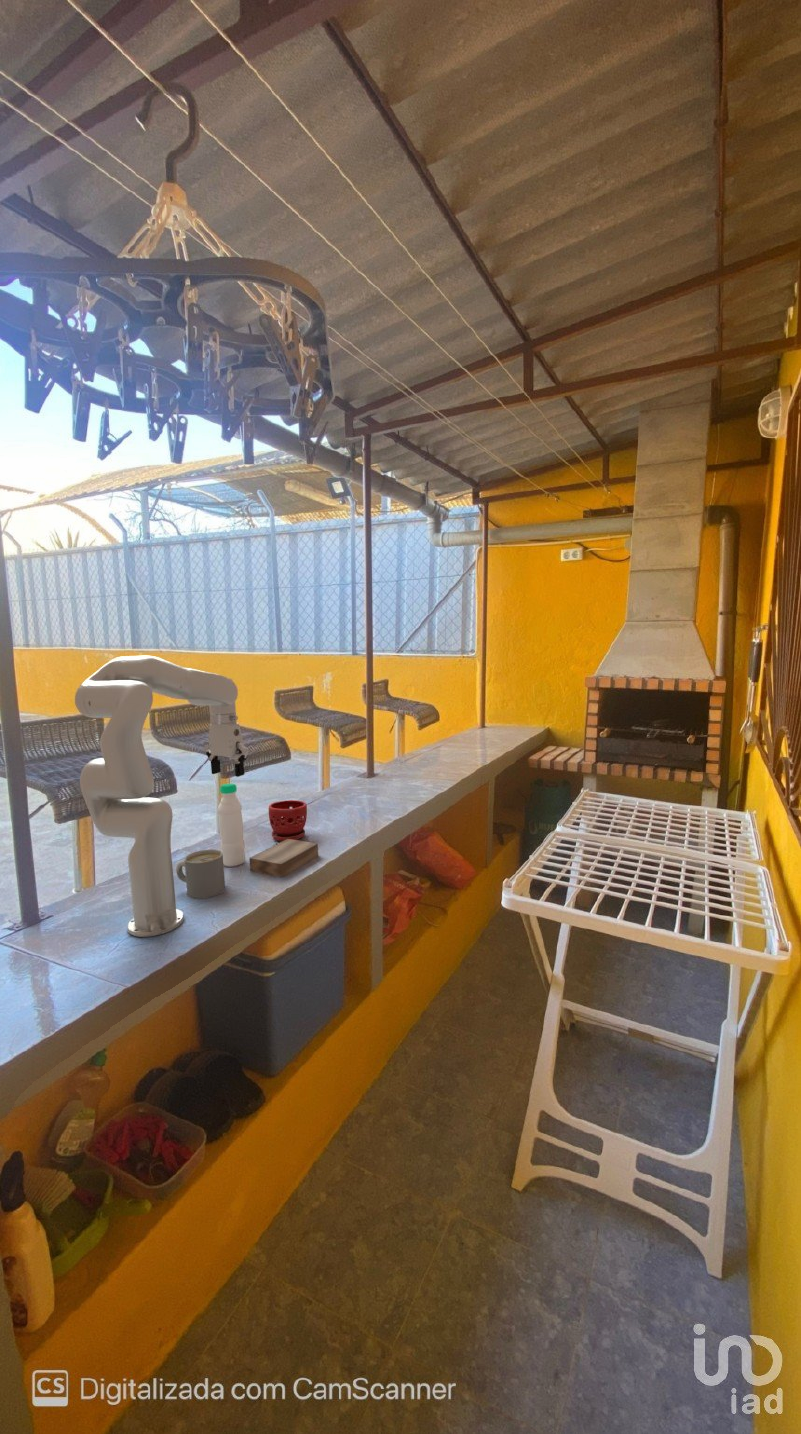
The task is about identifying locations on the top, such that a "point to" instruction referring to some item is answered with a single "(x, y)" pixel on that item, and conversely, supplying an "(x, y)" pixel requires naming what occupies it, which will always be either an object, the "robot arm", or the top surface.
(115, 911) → the top surface
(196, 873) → the coffee mug
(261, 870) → the walnut stand
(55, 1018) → the top surface
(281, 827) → the plant pot
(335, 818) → the top surface
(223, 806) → the water bottle
